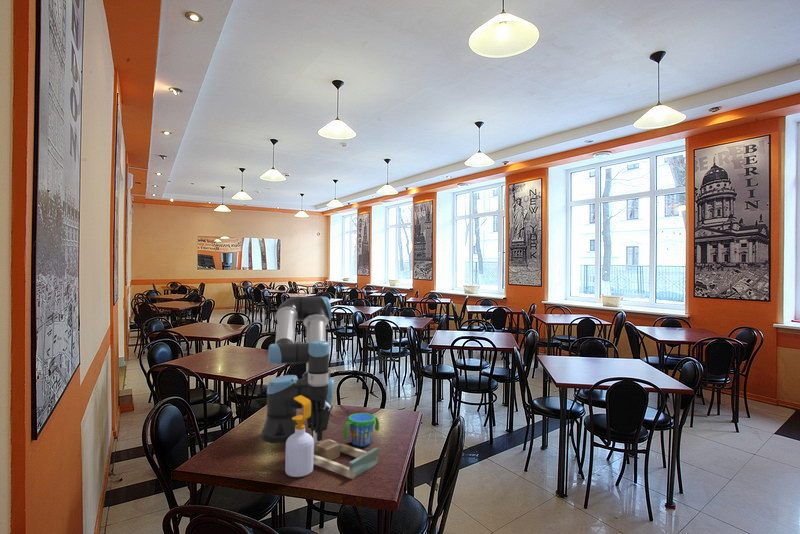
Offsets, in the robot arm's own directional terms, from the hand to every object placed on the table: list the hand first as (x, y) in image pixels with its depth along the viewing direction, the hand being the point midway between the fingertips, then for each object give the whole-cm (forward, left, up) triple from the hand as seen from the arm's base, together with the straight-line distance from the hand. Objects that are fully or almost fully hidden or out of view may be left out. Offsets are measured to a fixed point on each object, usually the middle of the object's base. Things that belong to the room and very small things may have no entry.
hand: (316, 448), depth 149 cm
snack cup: (+8, +16, -2) cm, 18 cm away
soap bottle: (+5, -13, -2) cm, 14 cm away
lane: (+11, 0, -2) cm, 11 cm away
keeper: (+5, 0, -2) cm, 5 cm away
